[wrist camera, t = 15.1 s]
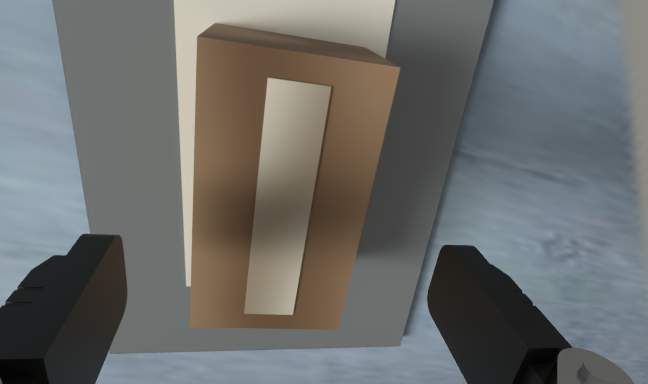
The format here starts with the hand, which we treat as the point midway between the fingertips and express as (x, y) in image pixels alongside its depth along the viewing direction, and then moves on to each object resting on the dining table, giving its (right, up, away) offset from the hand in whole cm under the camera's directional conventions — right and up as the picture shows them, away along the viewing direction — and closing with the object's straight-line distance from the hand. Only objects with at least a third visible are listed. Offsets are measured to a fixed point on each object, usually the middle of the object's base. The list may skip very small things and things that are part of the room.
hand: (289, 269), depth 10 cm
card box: (-1, +3, +5) cm, 6 cm away
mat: (-1, +3, +6) cm, 7 cm away
